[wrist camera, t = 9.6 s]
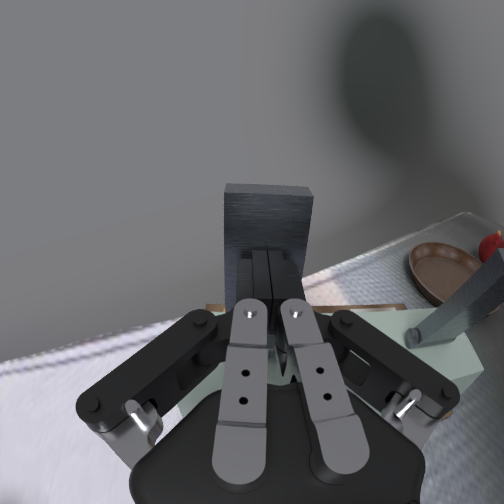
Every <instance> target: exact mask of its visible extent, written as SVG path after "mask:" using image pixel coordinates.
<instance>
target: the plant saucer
mask: <svg viewBox="0 0 504 504" xmlns="http://www.w3.org/2000/svg"><path fill="white" fill-rule="evenodd" d="M409 264H410V269H411V272H412V275H413V278H414V280H415V282H416V285H417V286H418V288H419V290H420V291H421V293H422V294H423V295H424V296H425V297H426V298H427V299H428V300H429V301H430V302H431V303H432V304H433V305H434V306H436V307H437V308H438V307H439V306H440V305H442V304H443V303H444V302H445V301H446V300H447V299H448V298H449V297H450V296H451V295H453V294H454V293H455V292H456V291H457V290H458V289H459V288H460V287H461V286H462V285H463V284H464V283H465V282H466V281H467V280H468V279H469V278H470V277H471V276H472V275H473V274H474V273H475V272H476V271H477V270H478V269H479V268H480V267H481V266H482V265H483V263H482V262H480V261H479V260H478V259H477V258H475V257H474V256H472V255H471V254H469V253H467V252H465V251H463V250H461V249H459V248H457V247H454V246H451V245H448V244H444V243H439V242H424V243H420V244H418V245H416V246H414V247H413V248H412V249H411V251H410V253H409ZM500 306H501V304H500V305H499V306H498V307H497V308H495V309H494V310H493V311H492V312H490V313H489V314H488V315H490V314H492V313H494V312H495V311H497V310H498V309H499V307H500ZM488 315H486V316H488Z"/></svg>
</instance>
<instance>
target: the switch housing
mask: <svg viewBox="0 0 504 504" xmlns="http://www.w3.org/2000/svg"><path fill="white" fill-rule="evenodd" d="M436 309H437V308H427V309H414V310H398V311H380V312H355V313H356V314H357V315H359V316H360V317H361V318H363V319H364V320H366V321H367V322H369V323H370V324H371V325H373V326H374V327H376V328H377V329H378V330H380V331H381V332H383V333H384V334H386V335H387V336H388V337H390V338H391V339H393V340H394V341H396V342H397V343H398V344H400V345H401V346H403V347H404V348H405V349H407V350H408V351H410V352H411V353H412V354H414V355H415V356H417V357H418V358H420V359H421V360H422V361H424V362H425V363H427V364H428V365H429V366H431V367H432V368H434V369H435V370H436V371H438V372H439V373H441V374H442V375H443V376H445V377H446V378H448V379H449V380H450V381H452V382H453V383H454V384H455V385H456V386H457V387H458V389H459V392H460V395H461V394H462V393H463V392H464V391H465V390H466V389H467V388H468V387H469V386H470V385H471V384H472V383H473V382H474V381H475V380H476V378H477V377H478V376H479V375H480V374H481V373H482V372H483V371H484V368H483V366H482V364H481V362H480V360H479V358H478V356H477V354H476V352H475V351H474V349H473V347H472V345H471V343H470V341H469V340H468V338H467V336H466V334H465V332H463V333H462V334H460V335H459V336H457V337H456V339H455V341H453V342H450V343H444V344H438V345H432V346H426V347H419V348H412V349H409V348H407V346H406V344H405V333H406V331H407V330H408V329H409V328H415V327H416V326H417V325H418V324H419V323H421V322H422V321H423V320H424V319H425V318H427V317H428V316H429V315H430V314H431V313H432V312H434V311H435V310H436ZM212 313H213V314H214V315H215V316H217V315H221V314H224V313H225V312H212ZM321 314H325V315H329V316H332V314H333V313H321ZM350 351H351V350H350ZM351 352H352V351H351ZM353 353H354V352H353ZM354 354H355V353H354ZM355 355H356V354H355ZM357 356H358V355H357ZM358 357H359V356H358ZM359 358H360V357H359ZM361 359H362V358H361ZM362 360H363V359H362ZM363 361H364V360H363ZM225 362H226V361H225ZM225 362H222V363H219V365H218V366H217V368H216V369H215V370H214V371H212V372H211V373H210V374H209V375H208V376H207V377H206V378H205V379H204V380H203V381H202V382H201V383H200V384H198V385H197V386H196V387H195V388H194V389H193V390H192V391H191V392H190V393H189V394H188V395H186V396H185V397H184V398H183V399H182V400H181V401H180V402H179V403H178V407H179V409H180V412H181V414H182V417H183V418H184V417H185V416H186V415H187V414H188V413H189V412H190V411H191V410H192V409H193V408H194V407H195V406H196V405H197V404H198V403H199V402H200V401H201V400H202V399H203V398H205V397H206V396H207V395H209V394H211V393H212V392H215V391H217V390H220V389H222V385H223V377H224V369H225ZM365 362H366V361H365ZM366 363H367V362H366ZM367 364H368V363H367ZM368 365H369V364H368ZM267 383H268V384H274V385H279V386H281V383H280V377H279V371H278V366H277V361H276V358H268V361H267ZM345 387H346V389H347V390H349V391H351V392H352V393H354V392H353V391H352V390H351V389H349V388H348V387H347V386H346V385H345ZM354 394H355V395H356V396H357V397H359V398H360V399H361V400H362V401H363V402H364V403H366V404H367V405H368V406H369V407H370V408H372V409H373V410H374V411H375V412H376V413H378V414H379V415H380V416H381V413H380V412H379V411H377V410H376V409H375V408H374V407H372V406H371V405H370V404H368V403H367V402H366V401H365V400H363V399H362V398H361V397H360V396H358V395H357V394H356V393H354Z"/></svg>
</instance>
